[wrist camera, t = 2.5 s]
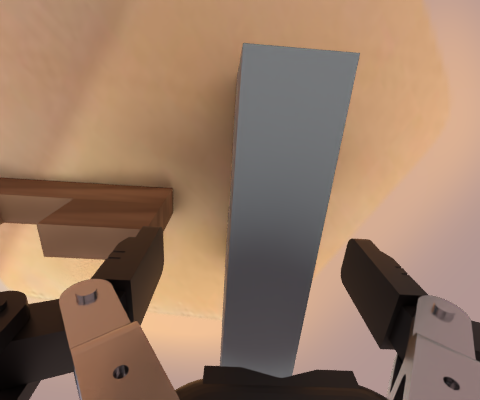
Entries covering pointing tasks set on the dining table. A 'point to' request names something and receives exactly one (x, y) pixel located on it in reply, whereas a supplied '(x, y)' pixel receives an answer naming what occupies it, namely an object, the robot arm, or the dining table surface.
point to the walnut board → (83, 213)
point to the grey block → (279, 196)
